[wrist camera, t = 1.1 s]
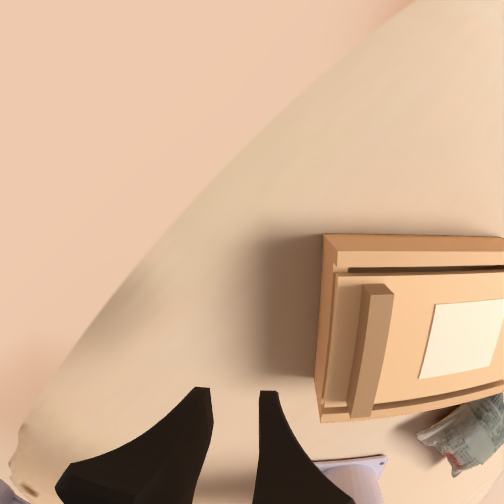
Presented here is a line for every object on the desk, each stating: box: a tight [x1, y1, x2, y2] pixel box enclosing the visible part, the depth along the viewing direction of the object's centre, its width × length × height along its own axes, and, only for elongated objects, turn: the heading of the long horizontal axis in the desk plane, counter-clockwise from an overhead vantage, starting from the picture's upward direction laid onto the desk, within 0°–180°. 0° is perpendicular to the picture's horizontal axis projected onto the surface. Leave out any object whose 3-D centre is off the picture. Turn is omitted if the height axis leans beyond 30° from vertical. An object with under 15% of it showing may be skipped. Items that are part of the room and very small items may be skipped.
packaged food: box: [416, 392, 504, 478], centre depth 20 cm, size 9×12×5 cm
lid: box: [323, 269, 504, 419], centre depth 15 cm, size 8×15×2 cm, turn 91°
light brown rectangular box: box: [314, 234, 504, 423], centre depth 18 cm, size 11×15×5 cm
